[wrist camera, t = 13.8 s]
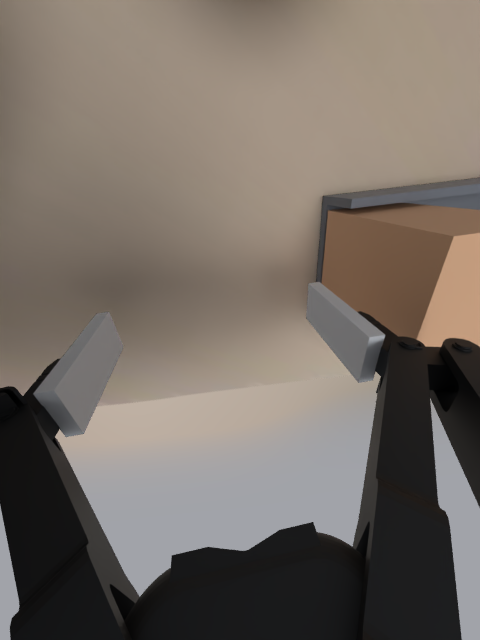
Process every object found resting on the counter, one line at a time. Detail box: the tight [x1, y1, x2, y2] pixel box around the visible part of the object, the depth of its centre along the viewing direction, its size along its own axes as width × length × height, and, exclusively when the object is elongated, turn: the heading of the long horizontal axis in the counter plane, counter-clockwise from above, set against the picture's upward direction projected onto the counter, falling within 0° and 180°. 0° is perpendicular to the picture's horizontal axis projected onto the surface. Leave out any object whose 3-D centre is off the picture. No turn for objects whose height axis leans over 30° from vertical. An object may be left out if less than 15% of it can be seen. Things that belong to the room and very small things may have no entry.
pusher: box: [321, 203, 480, 347], centre depth 17 cm, size 6×9×11 cm, turn 5°
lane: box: [316, 178, 480, 283], centre depth 22 cm, size 24×11×4 cm, turn 95°
